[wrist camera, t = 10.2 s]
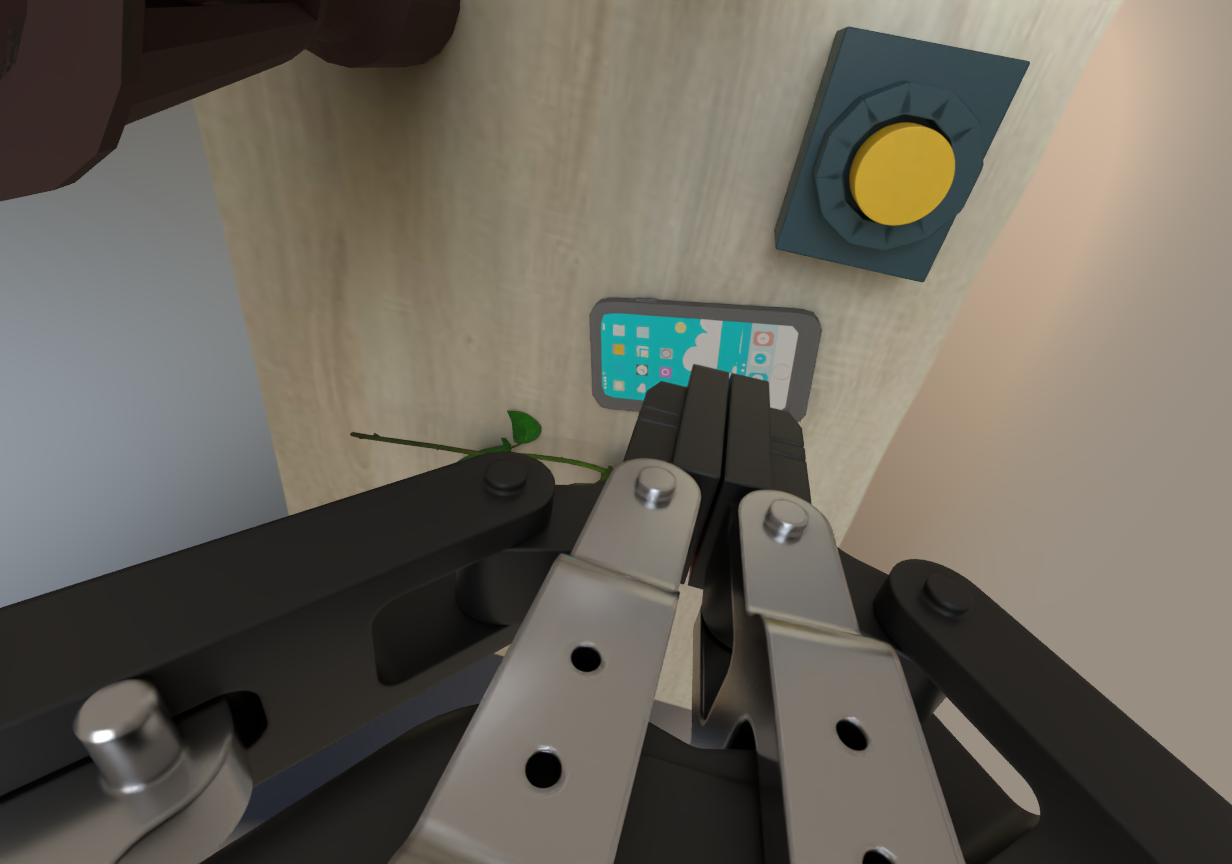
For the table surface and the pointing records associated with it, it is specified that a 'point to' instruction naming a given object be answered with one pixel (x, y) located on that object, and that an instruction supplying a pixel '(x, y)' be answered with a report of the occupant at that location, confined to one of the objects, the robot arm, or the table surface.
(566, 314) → the table surface
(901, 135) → the button
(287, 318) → the table surface
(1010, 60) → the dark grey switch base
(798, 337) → the smartphone
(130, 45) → the lantern
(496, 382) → the table surface
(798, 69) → the table surface
